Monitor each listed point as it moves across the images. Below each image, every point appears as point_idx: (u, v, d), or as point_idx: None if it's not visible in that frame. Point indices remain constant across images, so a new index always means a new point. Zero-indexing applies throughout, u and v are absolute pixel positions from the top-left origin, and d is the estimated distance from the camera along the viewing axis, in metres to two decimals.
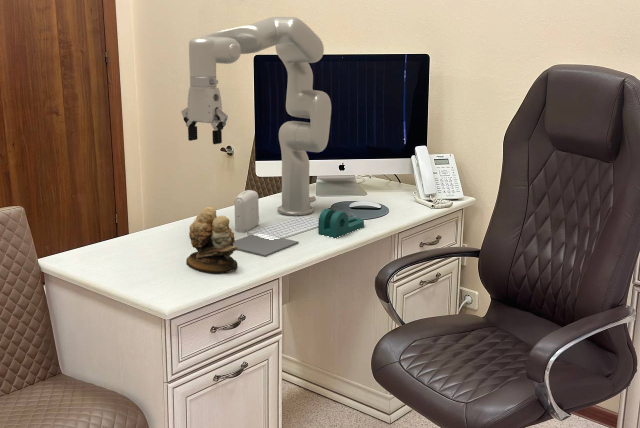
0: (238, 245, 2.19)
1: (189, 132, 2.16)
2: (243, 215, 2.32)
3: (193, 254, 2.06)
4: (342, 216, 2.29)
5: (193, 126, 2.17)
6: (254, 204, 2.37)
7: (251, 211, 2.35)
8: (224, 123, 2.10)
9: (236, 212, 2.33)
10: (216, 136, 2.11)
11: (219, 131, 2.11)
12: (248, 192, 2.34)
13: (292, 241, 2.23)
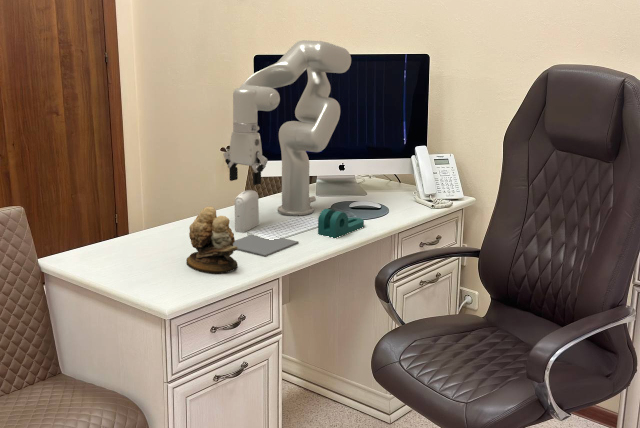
0: (238, 245, 2.19)
1: (230, 173, 2.34)
2: (243, 215, 2.32)
3: (193, 254, 2.06)
4: (341, 216, 2.29)
5: (234, 167, 2.35)
6: (254, 204, 2.37)
7: (251, 211, 2.35)
8: (264, 166, 2.28)
9: (236, 212, 2.33)
10: (256, 177, 2.29)
11: (259, 173, 2.29)
12: (248, 192, 2.34)
13: (292, 241, 2.23)
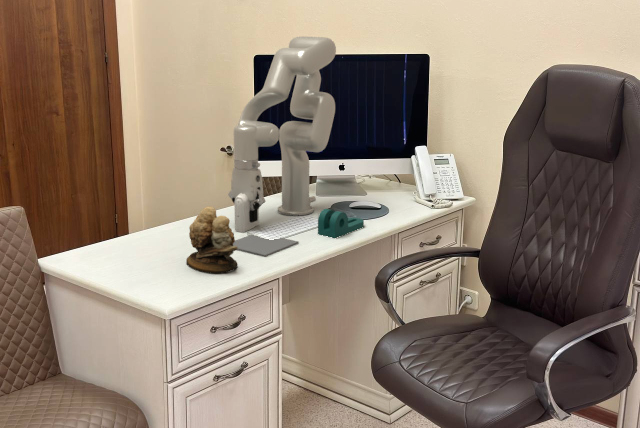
0: (238, 245, 2.19)
1: None
2: (242, 215, 2.32)
3: (193, 254, 2.06)
4: (341, 216, 2.29)
5: None
6: (254, 204, 2.37)
7: None
8: (260, 204, 2.33)
9: (236, 212, 2.33)
10: (253, 215, 2.34)
11: (255, 211, 2.34)
12: None
13: (292, 241, 2.23)
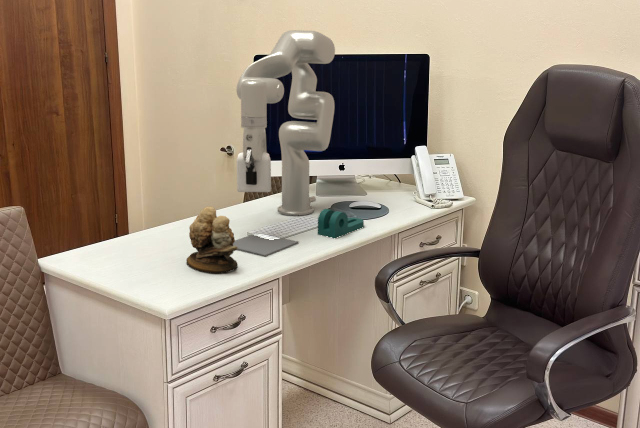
0: (238, 245, 2.19)
1: None
2: (238, 174, 2.21)
3: (193, 254, 2.06)
4: (341, 216, 2.29)
5: None
6: (258, 167, 2.19)
7: None
8: (250, 166, 2.16)
9: None
10: (248, 177, 2.19)
11: (250, 173, 2.18)
12: None
13: (292, 241, 2.23)
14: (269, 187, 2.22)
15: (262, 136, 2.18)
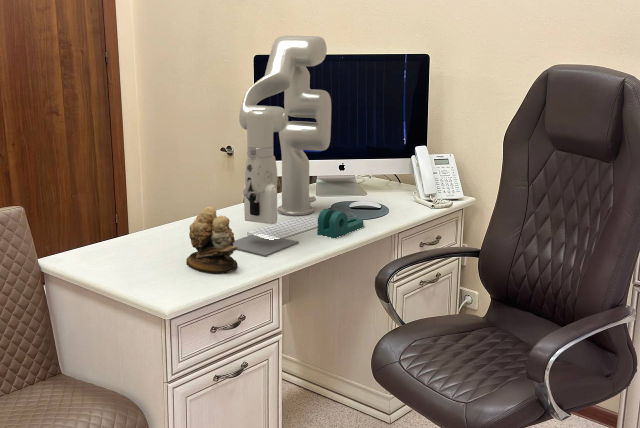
0: (238, 245, 2.19)
1: None
2: None
3: (193, 254, 2.06)
4: (341, 216, 2.29)
5: None
6: (261, 198, 2.15)
7: None
8: (249, 197, 2.12)
9: None
10: None
11: (252, 203, 2.14)
12: None
13: (292, 241, 2.23)
14: (273, 219, 2.16)
15: (266, 167, 2.13)
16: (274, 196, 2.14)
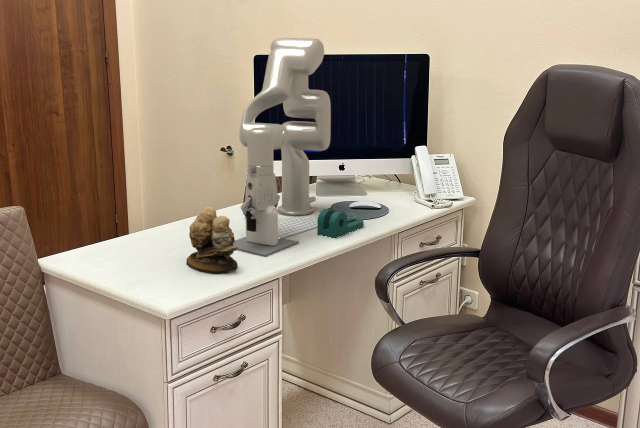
0: (238, 245, 2.19)
1: None
2: None
3: (193, 254, 2.06)
4: (341, 216, 2.29)
5: None
6: (262, 220, 2.17)
7: None
8: (246, 213, 2.12)
9: None
10: None
11: (249, 219, 2.14)
12: None
13: (292, 241, 2.23)
14: (273, 241, 2.18)
15: (266, 185, 2.14)
16: (274, 218, 2.16)
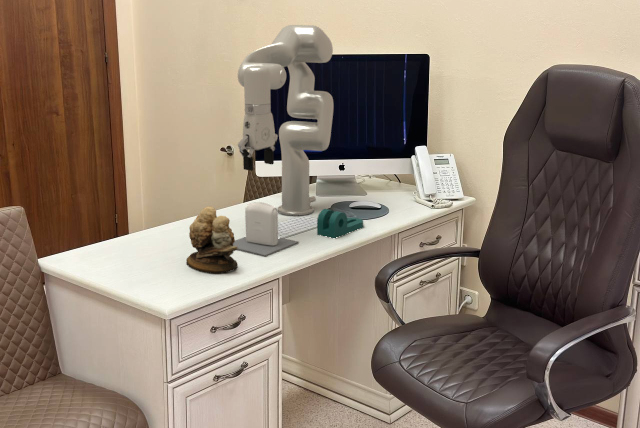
0: (238, 245, 2.19)
1: None
2: None
3: (193, 254, 2.06)
4: (341, 216, 2.29)
5: (268, 150, 2.22)
6: (262, 220, 2.17)
7: (255, 224, 2.18)
8: (243, 151, 2.11)
9: None
10: None
11: (245, 158, 2.14)
12: (258, 204, 2.17)
13: (292, 241, 2.23)
14: (273, 241, 2.18)
15: (264, 124, 2.14)
16: (274, 218, 2.16)
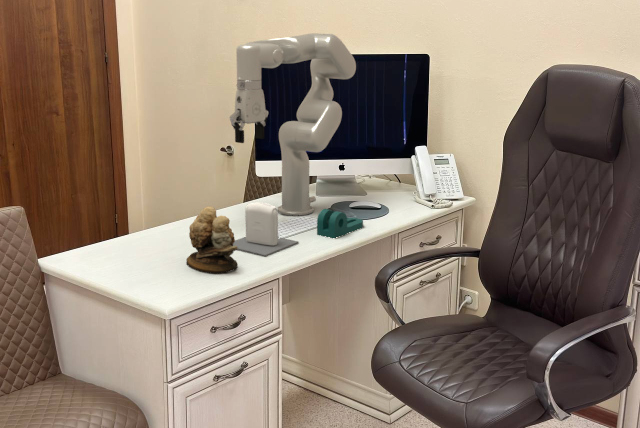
0: (238, 245, 2.19)
1: None
2: None
3: (193, 254, 2.06)
4: (340, 216, 2.29)
5: (259, 126, 2.35)
6: (262, 220, 2.17)
7: (255, 224, 2.18)
8: (234, 124, 2.24)
9: None
10: None
11: (237, 131, 2.27)
12: (258, 204, 2.17)
13: (292, 241, 2.23)
14: (273, 241, 2.18)
15: (255, 99, 2.27)
16: (274, 218, 2.16)
